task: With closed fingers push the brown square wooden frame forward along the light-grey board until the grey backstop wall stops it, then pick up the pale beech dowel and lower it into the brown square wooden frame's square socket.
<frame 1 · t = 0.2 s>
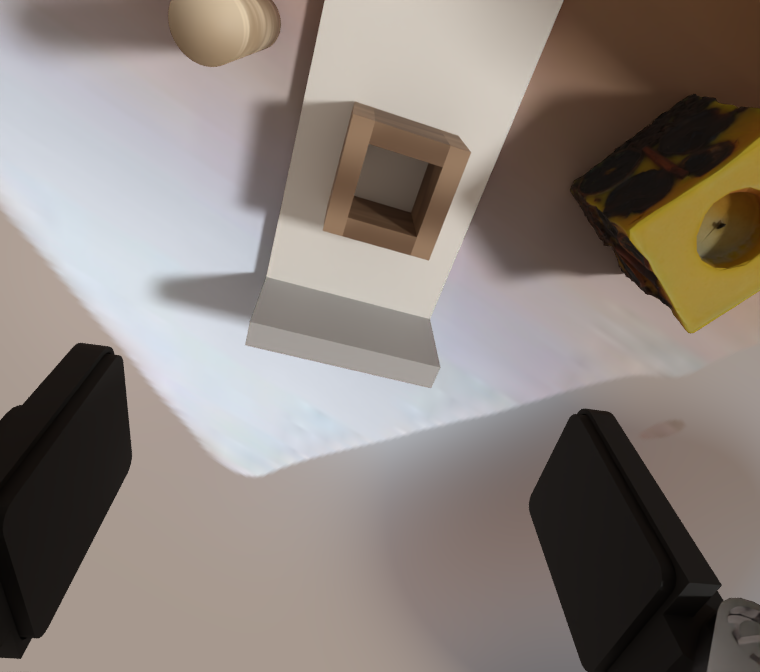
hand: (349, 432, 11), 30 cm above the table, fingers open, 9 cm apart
board: (390, 165, 37), on the table
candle: (653, 190, 39), on the table
dowel: (255, 21, 32), on the table
brown square wooden frame: (392, 182, 34), point 3 cm above the table, slide at 0.0 cm
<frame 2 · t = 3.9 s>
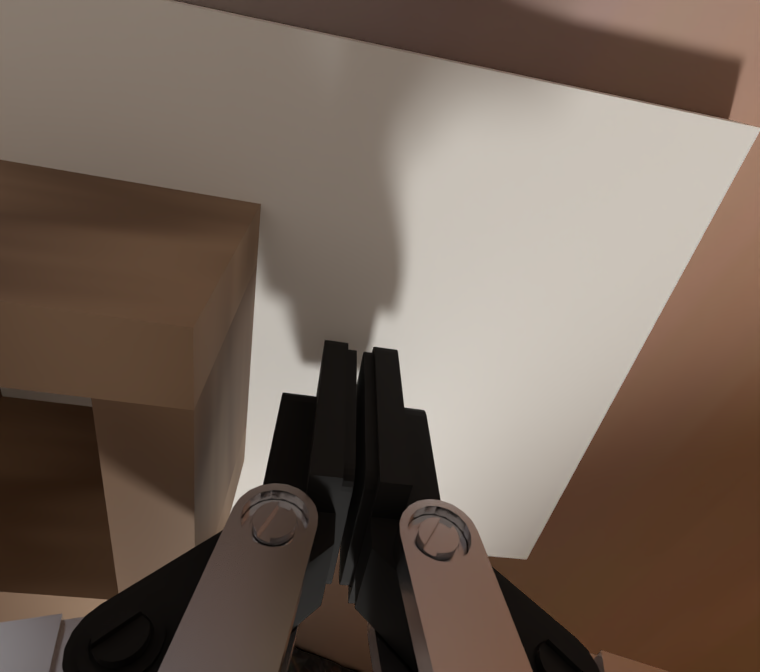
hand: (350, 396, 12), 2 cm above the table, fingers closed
board: (123, 311, 13), on the table
brown square wooden frame: (33, 396, 10), point 3 cm above the table, slide at 0.1 cm, touching gripper
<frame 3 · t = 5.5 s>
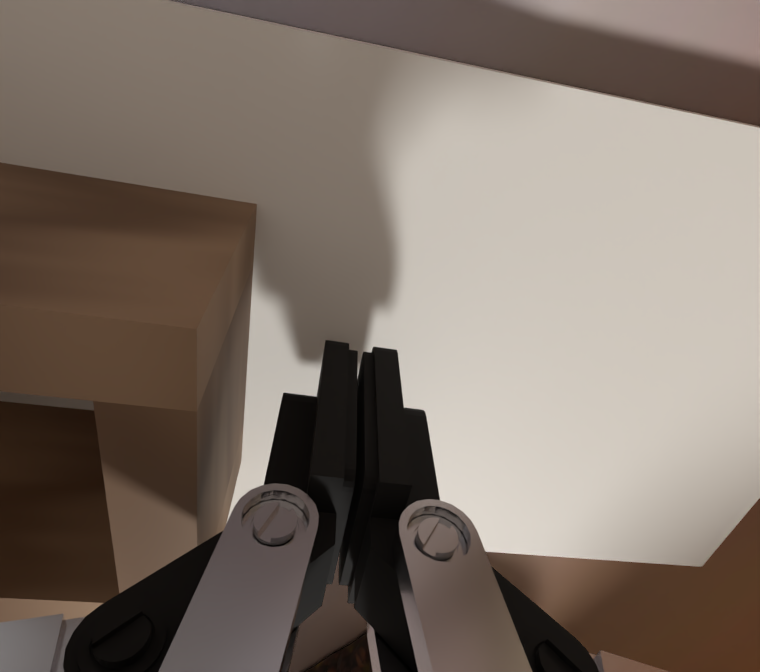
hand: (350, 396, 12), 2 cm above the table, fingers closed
board: (385, 347, 14), on the table
brown square wooden frame: (29, 400, 10), point 3 cm above the table, slide at 7.0 cm, touching board, gripper
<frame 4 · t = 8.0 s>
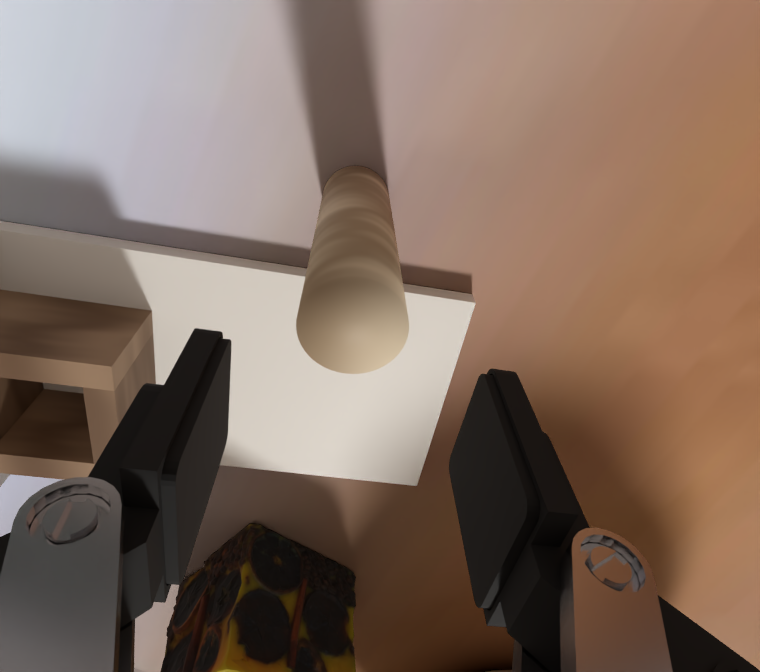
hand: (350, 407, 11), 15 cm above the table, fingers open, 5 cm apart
board: (223, 366, 29), on the table
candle: (269, 573, 41), on the table
dowel: (356, 199, 25), on the table
brown square wooden frame: (60, 388, 26), point 3 cm above the table, slide at 7.0 cm, touching board
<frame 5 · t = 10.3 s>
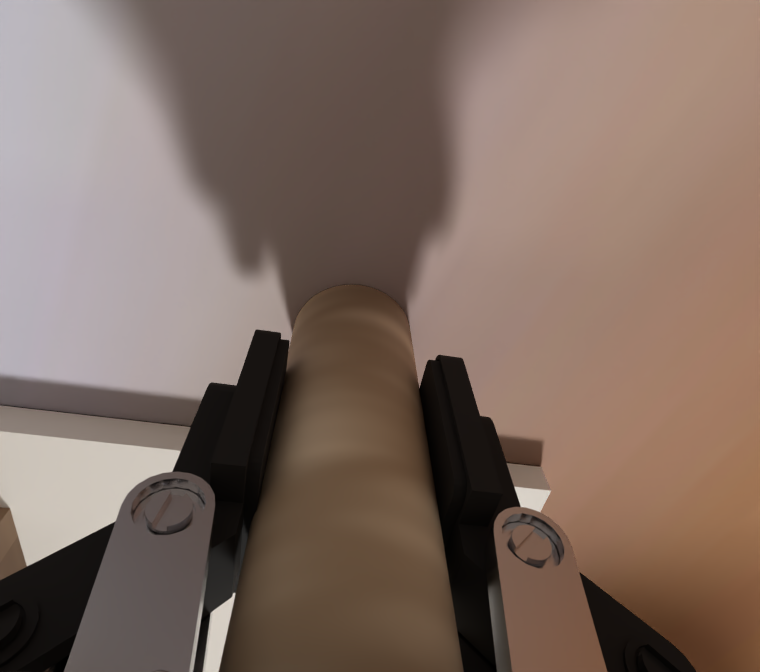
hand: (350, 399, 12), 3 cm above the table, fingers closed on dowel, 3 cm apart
board: (146, 562, 19), on the table
dowel: (352, 337, 14), on the table, touching gripper
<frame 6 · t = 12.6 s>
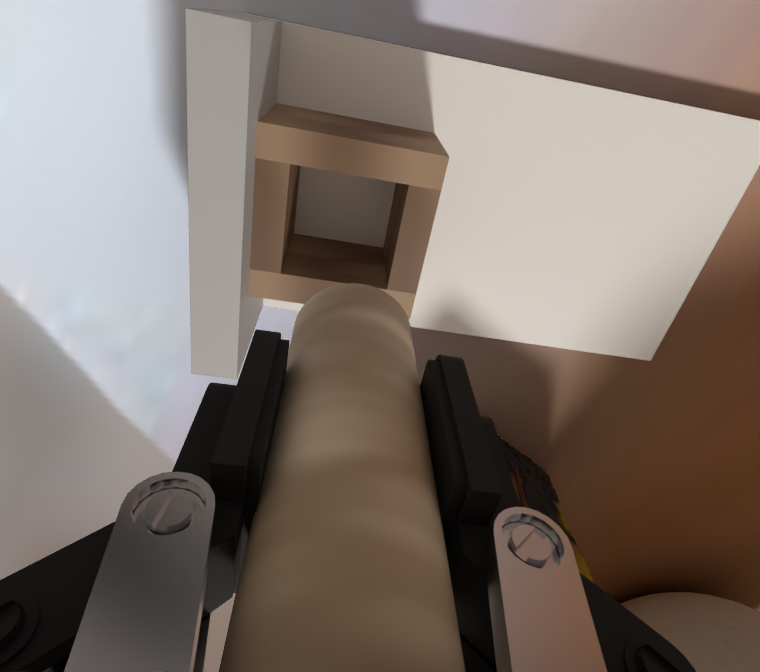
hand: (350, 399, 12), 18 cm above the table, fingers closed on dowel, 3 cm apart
board: (478, 213, 28), on the table
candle: (455, 474, 39), on the table
vase: (646, 621, 50), on the table
dowel: (352, 336, 14), point 15 cm above the table, touching gripper
brown square wooden frame: (343, 212, 24), point 4 cm above the table, slide at 7.0 cm, touching board
when the fingers open (7 cm above the table, at t = 14.9 s): dowel drops 3 cm, resting on board.
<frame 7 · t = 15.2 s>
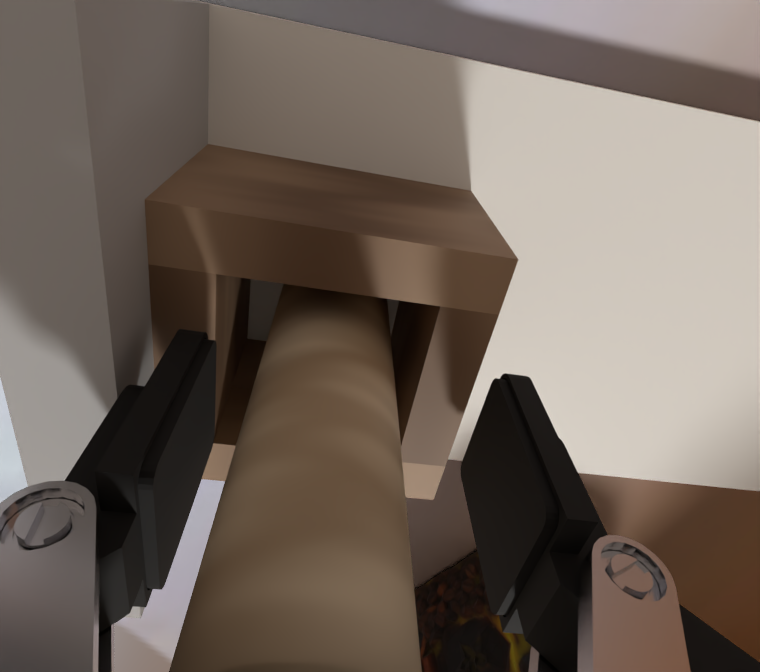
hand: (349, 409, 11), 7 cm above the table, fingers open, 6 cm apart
board: (530, 302, 18), on the table
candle: (477, 612, 29), on the table
dowel: (335, 286, 16), point 1 cm above the table, touching board
brown square wooden frame: (323, 325, 14), point 4 cm above the table, slide at 7.0 cm, touching board
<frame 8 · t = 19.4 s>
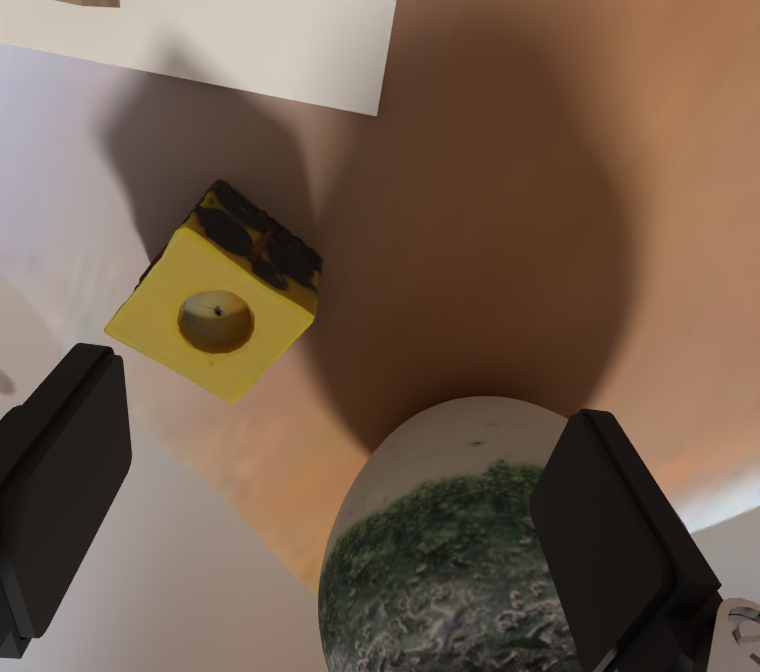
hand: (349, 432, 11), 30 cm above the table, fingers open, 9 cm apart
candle: (238, 261, 41), on the table
vase: (466, 446, 53), on the table
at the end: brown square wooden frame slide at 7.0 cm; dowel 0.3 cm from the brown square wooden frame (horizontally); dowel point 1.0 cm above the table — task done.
